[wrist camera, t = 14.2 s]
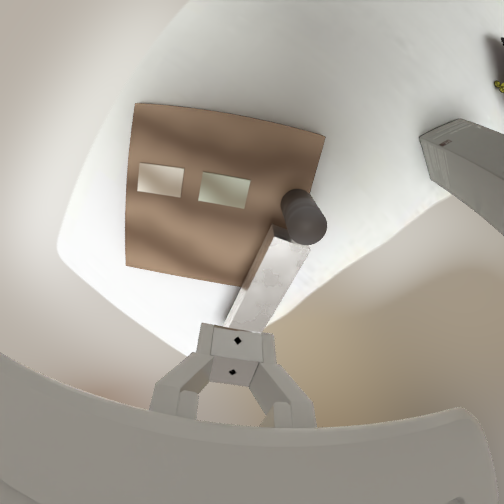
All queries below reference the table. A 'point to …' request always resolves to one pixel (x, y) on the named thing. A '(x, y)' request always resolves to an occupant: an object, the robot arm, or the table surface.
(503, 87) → the decorative flower
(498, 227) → the skincare box
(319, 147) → the label board
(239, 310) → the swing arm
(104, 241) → the table surface
